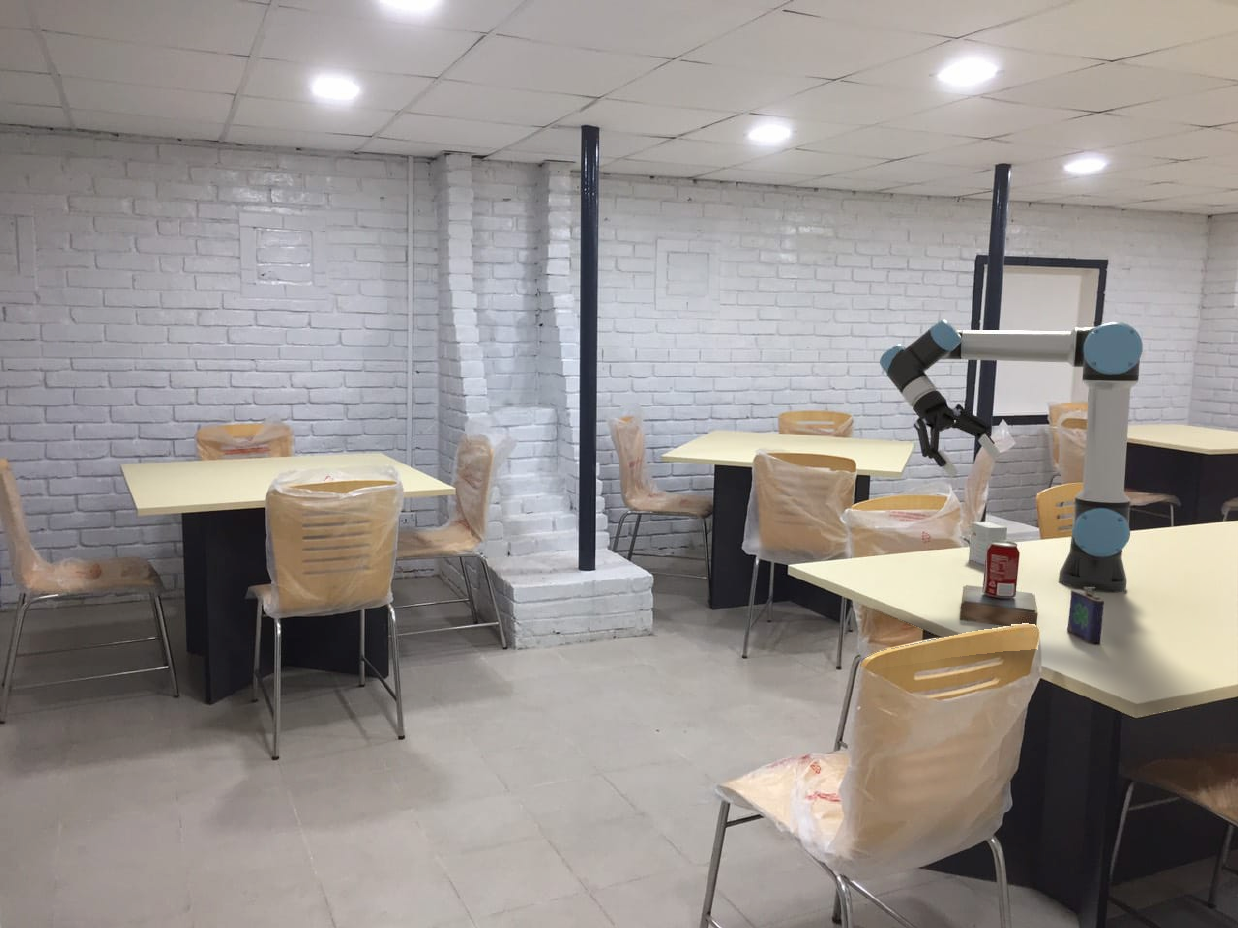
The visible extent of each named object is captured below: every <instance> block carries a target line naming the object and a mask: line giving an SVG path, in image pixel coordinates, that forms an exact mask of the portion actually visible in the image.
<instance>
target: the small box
mask: <svg viewBox="0 0 1238 928" xmlns="http://www.w3.org/2000/svg"><path fill="white" fill-rule="evenodd" d="M970 530H971V531H970V541H969V543H970V544H969V554H968V555H969V556H968V559H969V560H971V561H972V562H975V561H976V563H977V564H980V565H983V566H985V559H986V549H987V548H988V547H989V545H990V541H993V540H1002V541H1007V531H1008V528H1007V526H1003V525H1001V524H1000V525H999V524H996V523H993V522H990V521H972V522H971V529H970Z"/></svg>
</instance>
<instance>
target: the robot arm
mask: <svg viewBox="0 0 1238 928" xmlns="http://www.w3.org/2000/svg"><path fill="white" fill-rule="evenodd" d="M1143 345H1144V344H1143V340H1142V338H1141V335H1140V334H1139V332H1138V331H1137V330H1136V329H1135V328H1134V327H1133V326H1131V325H1129V324H1127V323H1124V322H1121V321H1118V322H1117V321H1111V322H1110V321H1109V322H1104V323H1101V324H1100V325H1097V326H1090V327H1075V328H1073V329H1072V330H1071V331H1052V330H1051V331H1049V330H1048V331H1047V330H1046V331H1045V330H1042V331H1041V330H1040V331H1039V330H1034V331H1033V330H985V329H984V330H980V329H979V330H976V329H975V330H974V329H967V330H966V329H965V330H964V329H963V330H962V329H961V330H960V329H956V328H955V327H954V326H953V325H952V324H951V323H950V322H949V321H948V320H947V319H941V320H940V321H938V322H937V323H935V324H934V325H932V326H931V327H930V328H929V329H928V330H927V331H925V333H923V334H922V335H920V336H919V337H918V338H917V339H916V340H915V341H913V342H912V343H911V344H909V346H907V347H906V346H905V345H903V344H896V345H894V346H892V347H890V348H888V349H887V350H885V352H883V354H882V355H881V357H880V359H879V363H880V365H879V366H881V368H882V369H883V371H884V372H885V374H886V376H887V377H888V379H889V380H890V382H892V383H893V385H894V386H895V388H897V390H898V391H899V393H900V394H901V395H902V396H903V398H904V399H905V401H906V402H907V403H908V405H909V406H911V408H912V410H913V411H914V413H915V414H916V415H917V416H918V418H917V419H916V421H915V422H914V423H913V427H914V429H915V430H916V432H917V437H918V442H919V446H920V452H921V456H922V457H923V458H927V457H928V459H930V460H934V461H935V462H936V464H937V465H938V466H939V467H940V468H942V469H943V470H944V471H945V473H946V475H948V477H949V478H950V479H954V477H956V475H957V474H958V473H959V471H958V469H957V468H956V466H955V465H954V464H953V462H952V461H951V460H950V458H949V457H948V455H947V454H946V452H945V451H944V450H943V449H941V450H939V446H940V445H939V444H940V434H941V432H943V431H945V430H949V429H953V430H954V429H955V430H956V429H957V430H959V431H961V432H964V433H967V434H969V435H971V436H973V437H975V438H978V440H977V441H978V443H979V444H980V445H981V447H982V448H983V449H984V450H985V452H986V453H987V454H988V455H989V457H990V458H991V459H992V461H993V462H996V461H997V460H998V459H1000V457H1001V456H1002V453H1001V451H1000V450H999V449H998V448H997V447H996V445H995V444H996V443H995V441H994V440H993V438H992V437H991V436H990V435H989V434H988V433H989V432H990V430H991V429H992V426H991V425H990V424H988V423H986V422H985V421H983V420H982V419H981V418H979V417H977V416H976V415H974V414H973V413H971V412H970V411H968V410H967V409H965V408H964V407H963V406H962V405H961V404H960V403H957V404H956V406H955V407H953V408H951V407H949V406H948V404H947V400H946V398H945V397H944V395H943V394H942V393H941V392H940V391H939V390H938V388H937V387H936V385H935V384H934V383H933V382H932V380H931V379H930V378H929V377H928V376H927V374H926V371H927V370H929V369H931V367H932V366H934V365H935V364H937V362H939V361H941V360H970V361H972V360H973V361H1005V362H1008V361H1009V362H1013V361H1014V362H1035V363H1036V362H1038V363H1039V362H1040V363H1041V362H1043V363H1067V364H1069V365H1070V366H1071V367H1074V368H1082V382H1083V383H1084V384H1085V385H1086V387H1087V388H1088V399H1087V400H1088V403H1087V415H1086V416H1087V417H1086V430H1085V431H1086V433H1085V445H1084V446H1085V449H1084V462H1083V463H1084V465H1083V479H1082V480H1083V482H1082V489H1081V490H1080V491H1079V492H1078V493H1076V494H1075V498H1074V502H1073V506H1074V510H1073V520H1072V527H1071V528H1072V529H1071V537H1070V547H1069V552H1068V554H1067V556H1066V558H1065V560H1064V563H1063V564H1062V567H1061V568H1060V570H1059V571H1060V572H1059V574H1058V575H1059V577H1058V581H1059V582H1060V583H1062V584H1065V585H1067V586H1070V587H1073V588H1077V589H1082V590H1085V589H1084V587H1095V589H1093V590H1092V591H1093V592H1095V591H1096V592H1106V593H1107V592H1108V593H1115V592H1114V591H1119V592H1121V591H1120V590H1124V591H1125V590H1126V589H1127V575H1126V571H1125V568H1124V564H1123V560H1122V556H1123V549H1124V548H1125V547H1126V545H1127V544H1128V542H1129V540H1130V537H1131V529H1130V525H1129V524H1130V511H1131V510H1130V509H1131V498H1130V497H1129V496H1128V495H1127V494H1126V493H1125V475H1126V458H1127V443H1128V433H1129V432H1128V429H1129V414H1130V400H1131V399H1130V398H1131V390H1132V388H1133V387H1134V386H1136V384H1138V383H1139V379H1140V378H1139V376H1140V375H1139V374H1140V364H1141V357H1142V354H1143V348H1144V347H1143ZM927 427H928V428H929V430H930V432H929V434H928V430H927V429H928V428H927ZM929 435H930V437H929ZM929 438H930V440H929Z"/></svg>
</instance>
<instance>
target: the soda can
mask: <svg viewBox="0 0 1238 928" xmlns="http://www.w3.org/2000/svg"><path fill="white" fill-rule="evenodd" d="M1020 555H1021V553H1020V551H1019V549H1018V544H1017V542H1013V541H1008V540H1006V541H1002V540H993V541H990V545H989V547H988V548H987V549H986V559H985V565H984V569H983V570H984V571H983V572H984V573H983V581H982V587H983V591H982V592H983V593H984V594H986V595H987V596H988V597H990V598H993V599H999V600H1009V599H1011V598H1013V597H1015V596H1016V591H1017V585H1018V584H1017V583H1018V574H1019V563H1020Z"/></svg>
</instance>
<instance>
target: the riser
mask: <svg viewBox="0 0 1238 928" xmlns="http://www.w3.org/2000/svg"><path fill="white" fill-rule="evenodd" d="M982 591H983V586H978V585H970V584H969V585H968V584H965V585H963V587H962V593H961V594H962V596H961V606H960V616H959V619H960V620H963V621H970V622H976V621H978V622H977V623H983V622H984V624H991V623H993V624H992V625H998V624H999V625H998V626H1005V625H1011V624H1022V623H1029V624H1035V625H1036V626H1037V624H1038V623H1037V622H1038V615H1039V613H1038V606H1037V601H1036V596H1035V594H1033V593H1032V592H1026V591H1018V590H1016V596H1015V597H1013V598H1011V599H1009V600H999V599H993V598H990V597H988V596H987V595H986V594H984V593H983V592H982Z"/></svg>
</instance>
